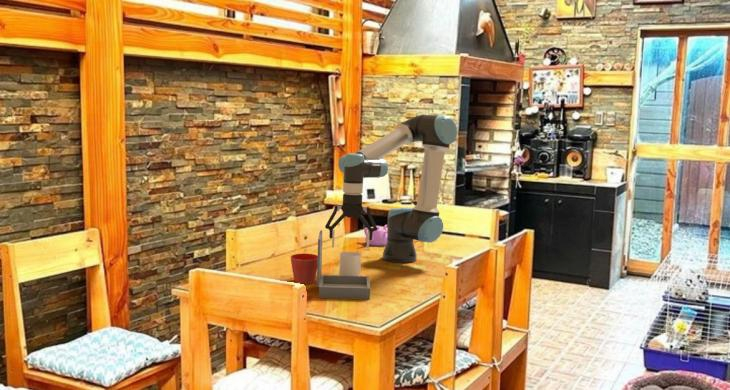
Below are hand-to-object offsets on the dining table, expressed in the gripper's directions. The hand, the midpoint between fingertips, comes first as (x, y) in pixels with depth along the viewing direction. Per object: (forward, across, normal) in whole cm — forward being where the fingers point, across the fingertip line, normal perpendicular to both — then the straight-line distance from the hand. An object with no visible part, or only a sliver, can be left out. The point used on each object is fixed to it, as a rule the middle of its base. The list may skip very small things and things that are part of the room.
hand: (350, 247), depth 275 cm
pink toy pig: (+12, -13, -68) cm, 71 cm away
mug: (+13, 0, 0) cm, 13 cm away
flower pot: (+13, +17, +6) cm, 22 cm away
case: (+13, +2, +19) cm, 23 cm away
